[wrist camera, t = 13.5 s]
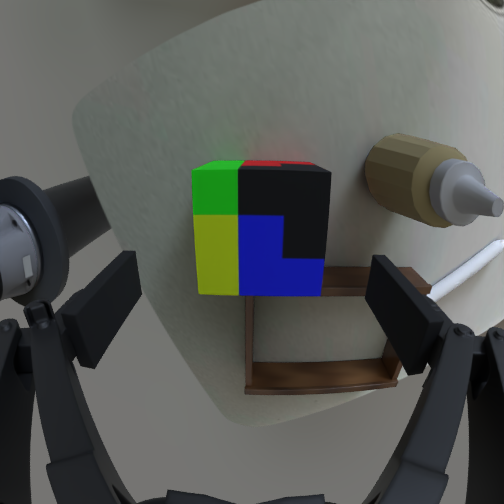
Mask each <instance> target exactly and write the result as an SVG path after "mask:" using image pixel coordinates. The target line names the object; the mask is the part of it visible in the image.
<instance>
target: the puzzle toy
mask: <svg viewBox="0 0 504 504" xmlns="http://www.w3.org/2000/svg"><path fill="white" fill-rule="evenodd" d="M330 189H331V172H330V171H328V170H325V169H323V168H321V167H319V166H317V165H315V164H312V163H310V162H292V161H212V162H209V163H207V164H205V165H202V166H200V167H198V168H195V169H193V170H192V198H193V220H194V238H195V253H196V267H197V280H198V292H199V294H207V295H240V296H321V288H322V279H323V271H324V261H325V252H326V241H327V230H328V218H329V205H330Z"/></svg>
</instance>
